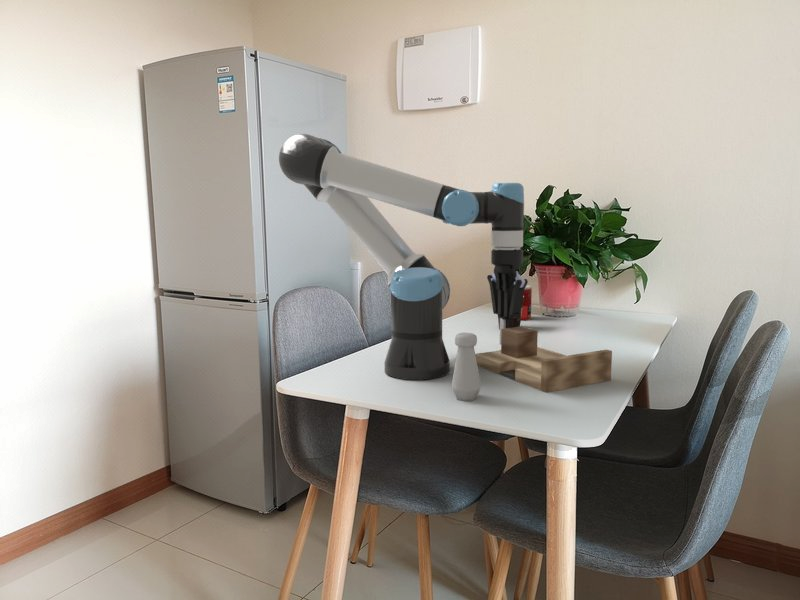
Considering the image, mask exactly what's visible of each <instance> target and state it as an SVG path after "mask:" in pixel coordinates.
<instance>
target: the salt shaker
mask: <svg viewBox="0 0 800 600" xmlns="http://www.w3.org/2000/svg"><path fill="white" fill-rule="evenodd" d="M477 337H478V336H477V335H476V334H475V333H472V332H459V333H457V334H456V335H455V337H454V344H455V345H456V346H457V352H456V358H455V362H454V363H455V364H454V370H453V375H452V380H451V386H450V387H451V390H452V393H453V394H454V397H455V398H456V400H458V401H463V402H468V401H474V400H476V398H477V397H478V395H479V392H480V390H481V387H482V386H481V385H482V384H481V379H480V374H479V369H478V368H479V366H477V361H476V356H475V354H476V352H475V351H476V350H475V347H476V346H477V343H478V338H477Z"/></svg>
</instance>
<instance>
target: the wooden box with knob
mask: <svg viewBox="0 0 800 600" xmlns="http://www.w3.org/2000/svg"><path fill="white" fill-rule="evenodd" d="M475 356H476V361H477V367H480V368H482V369H485V370H488V371H491V372H493V373H496V374H498V375H501V376H504V377H506V378H509V379H511V380H514V381H516V382H519V383H521V384H523V385H526V386H529V387H531V388H533V389H536V390H539V391H541V392H543V393H550V392H555V391H561V390H565V389H566V390H567V389H571V388H576V387H582V386H587V385H592V384H598V383H599V384H600V383H603V382H609V381H612V365H613V363H612V360H613V350H610V349H603V350H602V349H601V350H596V351H589V352H588V351H587V352H583V353H576V354H570V355H566V354H562V353H559V352H555V351H554V350H553V351H552V350H550V349H546V348H543V347H539V346H537V355H536V356H530V357H523V358H514V357H511V356H508V355H505V354H502V353H501V349H500V350H492V351H486V352H485V351H484V352H478V353H475Z"/></svg>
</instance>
